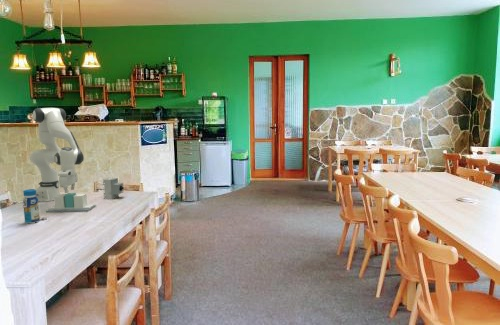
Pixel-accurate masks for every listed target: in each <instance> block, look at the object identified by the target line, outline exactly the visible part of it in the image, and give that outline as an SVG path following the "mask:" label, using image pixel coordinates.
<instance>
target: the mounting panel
mask: <svg viewBox="0 0 500 325" xmlns="http://www.w3.org/2000/svg"><path fill="white" fill-rule="evenodd" d="M65 194H66V193H60V194H59V195H56V196H54V200H53V201H54V205H52V206H50V207H47V210H46V211H45V212H46V213H76V212H79V213H82V212H83V213H85V212H89V211H91V210H93V209H94V208H96V206H97V205H96V204H88V198H87V193H76V195H75V196H73V197H74V207H69V208H66V202H65Z"/></svg>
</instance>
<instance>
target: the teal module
mask: <svg viewBox="0 0 500 325" xmlns="http://www.w3.org/2000/svg"><path fill="white" fill-rule="evenodd" d="M64 194H65V202H66V208H69V207H74V197H73V196H75V195H77V193H76V192H68V193H64Z"/></svg>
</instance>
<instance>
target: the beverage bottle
mask: <svg viewBox="0 0 500 325" xmlns="http://www.w3.org/2000/svg"><path fill="white" fill-rule="evenodd" d="M35 195H36V189H34V188H33V189H31V188H29V189H25V190H23V196H24V198H23V200H22V203H23V205H22V208H23V215H24V224H27V223H32V224H36V223H35V222H37V223H40V222H41V218H40V204H39V202H38V198H37V197H36V196H35Z"/></svg>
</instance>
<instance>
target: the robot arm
mask: <svg viewBox="0 0 500 325" xmlns="http://www.w3.org/2000/svg"><path fill="white" fill-rule="evenodd" d="M66 117H67V113H66V111H65V110H64V109H63V108H61V107H42V108H41V107H37V108H35V109H34V110H33V112H32V118H33V121H34V122H35V123H38V141H39V143H41V144H42V145H45V148H44V149H43V148H42V149H37V150H33V151H31V153H30V155H29V160H30V162H31V163H32V164H33V165H35V166H36V167H37V168H38V169H39V171H40V176H41V181H40V182H39V183H38V185H39V187H38V188H36V189H35V190H36V195H35V196H36V197H37V198H38V203H39V202H41V203H43V202H45V203H46V202H51V201H54V196H56V195H59V194H61V192H60V188H63V190H64V194H67V193H69V190H68V187H69V186H70V190H71V191H74V190H75V185H76V183H78V180H79V179H78V172H77V171H76V165H81V164H82V163H83V162H84V159H85V158H84V154H83V152H82V150H81V149H80V146H79V144H78V142H77V140H76V137H75V135H74V134H73V132H72V131H71V130H69V129H68V128H67V126H66V125H65V122H64V121H66ZM57 138H58V139H61V140H65V141H67V142H68V144H69V146H70V147H68V146H67V147H66V146H65V147H62V148H61V147H60V146H59V145H58V143H57ZM52 163H53V164H54V163H55V164H56V165H58V166H61V167H60V170H59V172H58V170H56V169H55V168H54V167H52V166H51V164H52Z"/></svg>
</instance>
